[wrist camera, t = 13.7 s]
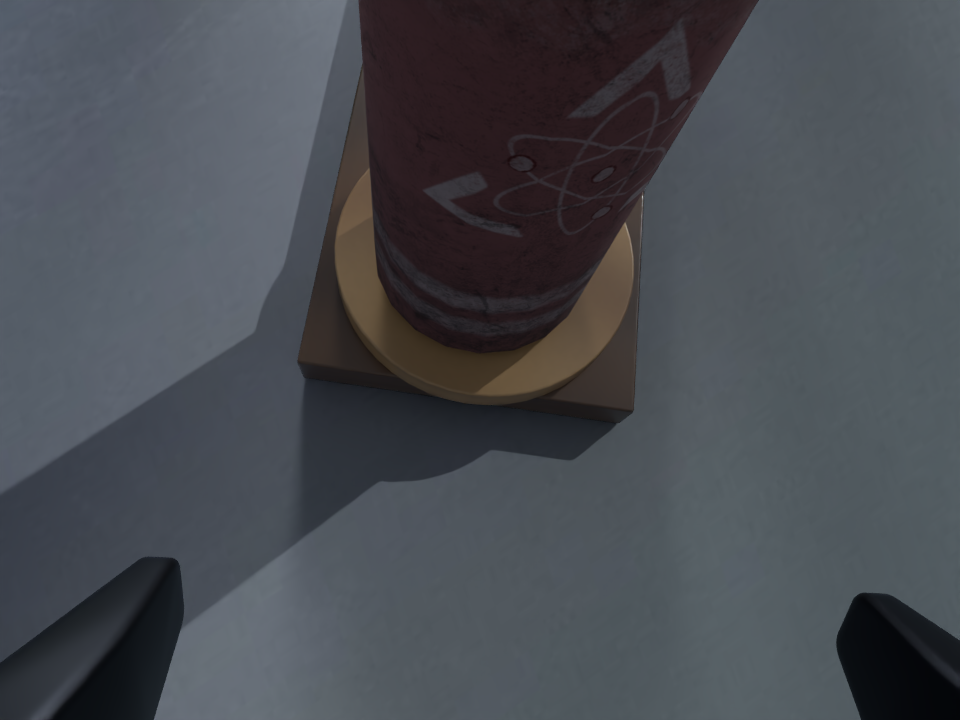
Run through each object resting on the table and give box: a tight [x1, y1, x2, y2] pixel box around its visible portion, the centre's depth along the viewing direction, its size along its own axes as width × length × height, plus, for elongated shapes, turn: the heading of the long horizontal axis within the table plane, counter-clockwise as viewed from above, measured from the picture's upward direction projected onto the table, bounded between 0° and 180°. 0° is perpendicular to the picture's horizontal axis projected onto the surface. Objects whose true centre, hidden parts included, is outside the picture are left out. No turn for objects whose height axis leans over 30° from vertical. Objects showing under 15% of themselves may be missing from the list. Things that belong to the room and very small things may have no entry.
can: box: [359, 0, 759, 354], centre depth 14 cm, size 6×6×14 cm
